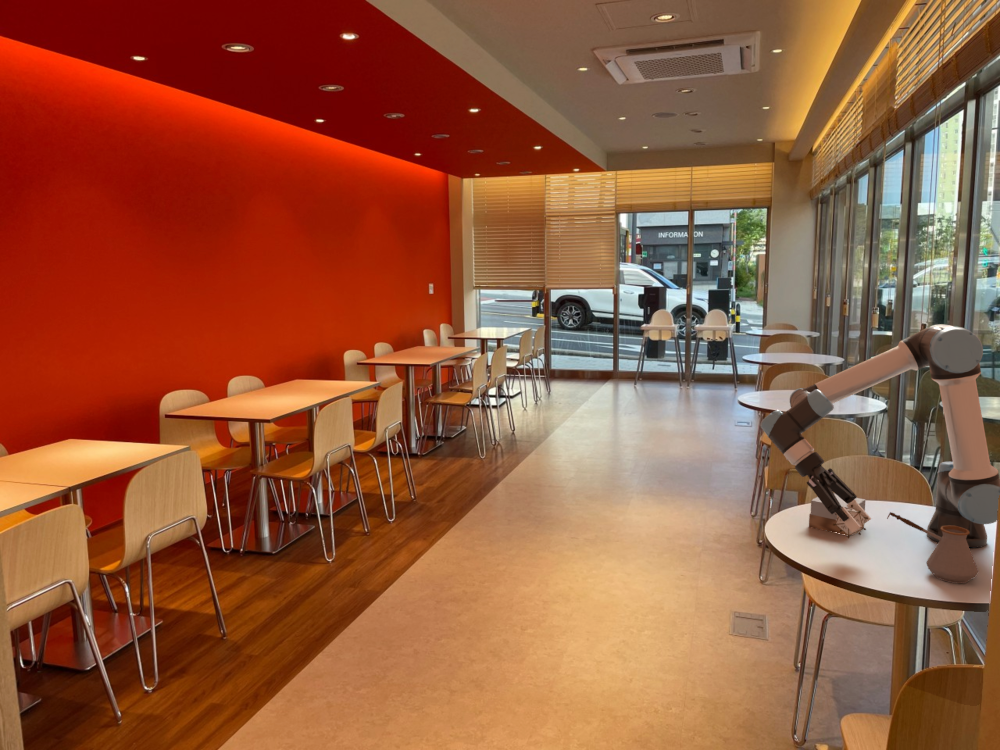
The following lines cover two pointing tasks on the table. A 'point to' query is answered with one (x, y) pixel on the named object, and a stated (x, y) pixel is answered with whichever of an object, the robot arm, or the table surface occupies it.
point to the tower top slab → (821, 510)
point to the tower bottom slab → (823, 523)
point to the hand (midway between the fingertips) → (861, 525)
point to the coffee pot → (949, 554)
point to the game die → (856, 516)
